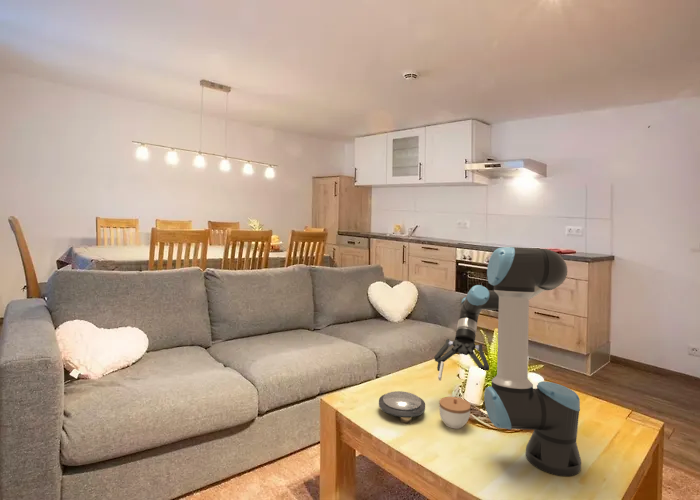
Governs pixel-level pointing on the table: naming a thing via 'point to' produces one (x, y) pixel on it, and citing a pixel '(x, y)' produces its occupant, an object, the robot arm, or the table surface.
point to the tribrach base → (402, 405)
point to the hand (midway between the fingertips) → (458, 382)
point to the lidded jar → (454, 411)
